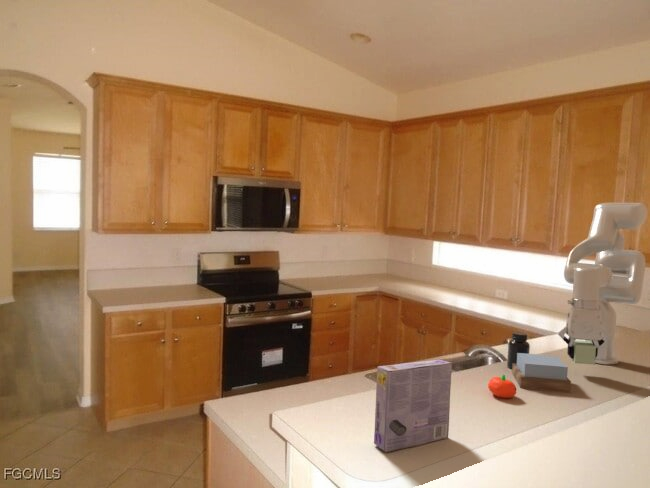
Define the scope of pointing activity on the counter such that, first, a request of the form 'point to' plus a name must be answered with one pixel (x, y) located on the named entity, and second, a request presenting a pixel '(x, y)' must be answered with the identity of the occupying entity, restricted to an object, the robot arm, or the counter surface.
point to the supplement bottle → (517, 347)
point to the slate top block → (541, 366)
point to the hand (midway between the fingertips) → (582, 357)
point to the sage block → (584, 352)
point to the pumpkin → (502, 387)
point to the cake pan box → (412, 404)
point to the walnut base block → (540, 382)
